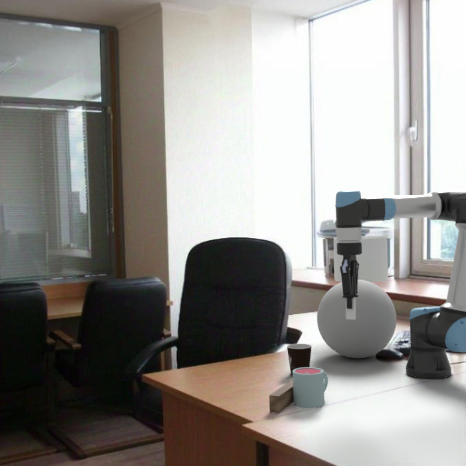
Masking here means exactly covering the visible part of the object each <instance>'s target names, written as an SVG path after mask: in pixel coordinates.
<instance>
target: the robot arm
mask: <svg viewBox="0 0 466 466" xmlns="http://www.w3.org/2000/svg"><path fill="white" fill-rule="evenodd" d="M334 207H335V222H336V224H335V225H336V230H335V231H334V233H335V235H336V237H337V241H339V243H337V254H338V255H343V261H342V266H340V271H341V278H342V288H343V296H342V297H343V298H346V319H352V320H355V319H356V298H354V297H358V295H356V294H357V293H358V292H357V291H358V269H359V263H358V261H356V255H360V254H362V243H361V242H360V240H362V236H363V235H362V222H381V221H382V222H386V221H391V220H392V219H393V220H394V219H412V218H413V219H414V218H416V219H417V218H427V219H428V220H429V221H430V220H431V221H435V220H436V221H437V220H438V221H448V222H453V223H454V226H455V227H456V228H457V230H458V234H457V238H456V239H457V240H456V244H455V251H454V257H453V262H452V268H451V273H450V278H449V282H448V283H449V284H448V290H447V297H446V301H445V302H444V303H443V304H441V305H440V306H425V307H414V308H412V309H411V310H410V312H409V334H410V337H409V339H410V352H409V355H408V358H407V362H406V366H405V374H406V375H407V376H410V377H414V378H417V379H430V380H431V379H443V378H448V377H450V376H451V375H452V366H451V362H450V361H449V357H448V354H447V351H446V350H449V351H451V352H455V353H457V352H458V353H466V187H457V188H456V187H455V188H451V189H446V190H441V191H440V190H438V191H430V192H427V193H426V194H419V195H418V194H416V195H389V196H387V195H385V196H384V195H380V196H362V195H361V192H360V190H339V191H337V192H336V195H335V205H334Z"/></svg>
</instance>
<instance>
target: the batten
mask: <svg viewBox="0 0 466 466" xmlns="http://www.w3.org/2000/svg"><path fill="white" fill-rule="evenodd" d="M268 399H269V400H268V401H269V403H268V404H269V405H268V406H269V413H270V414H271V413H273V414H280V413H282V412H283V411H285V410H286V409H287V408H288V407H290V406H291V405H292V404H294V403H293V379H291V380H290V381H288V382H287V383H285V384H284V385H282V386H281V387H279V388H278V389H276V390H275V391H273V392H272V393H270V394H269V396H268Z"/></svg>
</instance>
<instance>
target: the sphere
mask: <svg viewBox="0 0 466 466" xmlns="http://www.w3.org/2000/svg"><path fill="white" fill-rule="evenodd" d="M357 292H358V293H357V294H356V295H358V297H354V298H356V319H355V320H352V319H346V298H343V297H342V296H343V288H342V282H339V283H337V284H335V285H333V286H332V287H331V288H330V289H329V290H328V291H327V292H326V293H325V294H324V295H323V296H322V298H321V300H320V302H319V305H318V308H317V313H316V314H317V315H316V322H317V328H318V331H319V334H320V336H321V338H322V339H323V341H324V343H325V344H326V345H327V346H328V347H329V348H330V349H331V350H332V351H334V352H335V353H336V354H339V355H341V356H343V357H345V358H346V357H347V358H350V359H364V358H368V357H372V356H374V355H376V354H379V352H382V350H383V349H385V348H386V347H387V346H388V344H389V343H390V342H391V340H392V339H393V336H394V334H395V331H396V327H397V312H396V308H395V304H394V302H393V301H392V299H391V297H390V296H389V295H388V293H387V292H386V291H385V290H384V289H382V287H381V286H379V285H377V284H376V283H374V282H368V281H365V280H358V291H357Z"/></svg>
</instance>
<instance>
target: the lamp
mask: <svg viewBox="0 0 466 466" xmlns="http://www.w3.org/2000/svg"><path fill="white" fill-rule="evenodd" d="M360 242H361V243H362V254H360V255H356V261H358V263H359V269H358V280H365V281H368V282H371V283H380V282H385V281H388V279H389V273H388V272H389V266H388V265H389V264H388V263H389V259H388V237H387V235H386V236H385V235H362V240H360ZM337 243H339V241H337V236H336V237H333V270H334V272H333V273H334V274H333V275H334V281H335V282H339V283H341V282H342V278H341V271H340V266H342V261H343V255H338V254H337Z"/></svg>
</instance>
